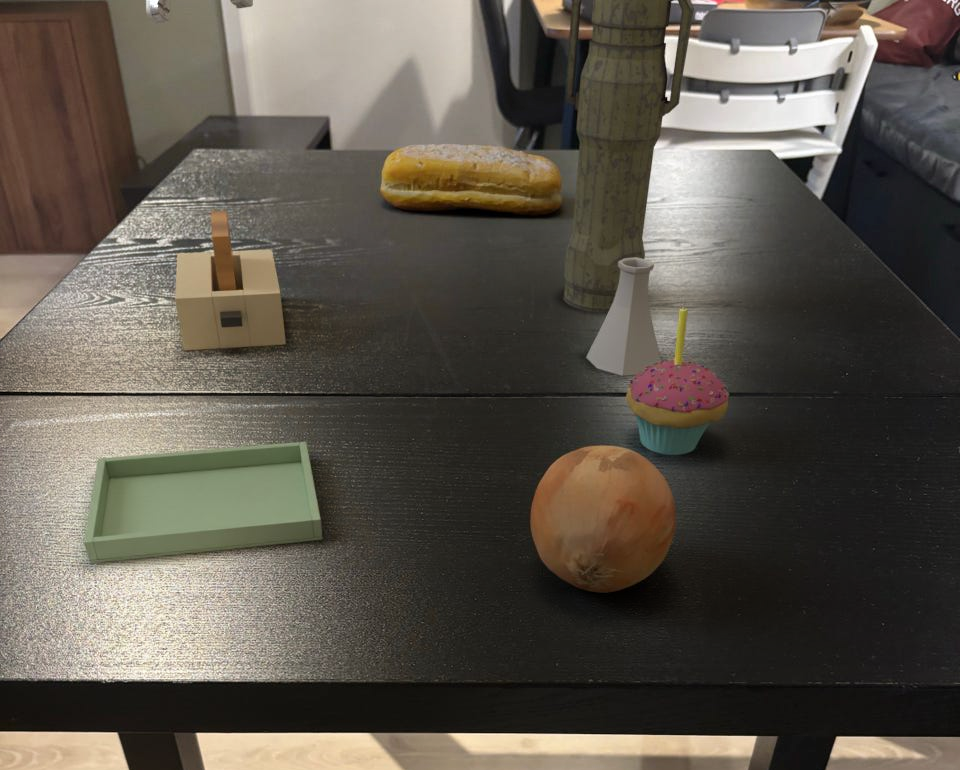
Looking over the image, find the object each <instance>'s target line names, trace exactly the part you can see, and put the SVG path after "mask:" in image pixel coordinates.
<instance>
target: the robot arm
mask: <svg viewBox="0 0 960 770" xmlns="http://www.w3.org/2000/svg"><path fill="white" fill-rule="evenodd" d="M229 1H230V3H231V4H232V5H233V6H235V7H236V9H245V8H250V7H253V5H254V0H229ZM145 11H146V15H147V18H149V19H150V20H151V21H152V22H154V23H155V24H160V23H164V22H170V21H171V14H170V12H171V3H170V2H169V1H168V0H145Z"/></svg>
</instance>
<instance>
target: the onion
mask: <svg viewBox="0 0 960 770" xmlns="http://www.w3.org/2000/svg"><path fill="white" fill-rule="evenodd" d="M676 516H677V515H676V505H675V500H674V495H673V493H672V490H671V488H670V486H669V483H668V481H667V479H665V476H664V475H663V474H662V473H661V472H660V470H659V469H658V468H657V467H656V466H655V465H654V464H653V463H652V462H651V461H650V460H648V459H647V458H646V457H645V456H643V455H641V454H639V453H638V452H636V451H634V450H631V449H629V448H626V447H623V446H622V447H621V446H616V445H589V446H584V447H581V448H578V449H575V450H572V451H570V452H568V453H565V454H562V456H560V457H559V458H557V459H556V460H555V461H554V462H553V463H552V464H550V466H549V467H548V468H547V470H546V471H545V473H544V475H543V476H542V477H541V479H540V480H539V482H538V484H537V487H536V489H535V492H534V496H533V499H532V502H531V507H530V520H529V522H530V531H531V536H532V540H533V543H534V545H535V548H536V550H537V553H538V555H539V558H540V559H541V560H540V561H542V563H543V564H544V565H545V567H546V568H547V569H548V570H549V571H551V572H552V573H553V574H554V575H555V576H557V577H558V578H560V579H561V580H563V581H564V582H566V583H568V584H570V585H571V586H573V587H575V588H577V589H580V590H584V591H588V592H590V593H591V592H592V593H602V594H603V593H604V594H605V593H606V594H607V593H608V594H609V593H614V592H618V591H621V590H624V589H627V588H630V587H632V586H634V585H636V584H638V583H640V582H641V581H643V580H645V579H647V578H648V577H650V575H652V574H653V573H654V572H655V571H656V570H657V569H658V567H660V566H661V565H662V563H663V561H665V559H666V556H667V555H668V553H669V551H670V547H671V544H672V541H673V539H674V535H675V532H676V526H677V519H676V518H677V517H676Z"/></svg>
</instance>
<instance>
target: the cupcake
mask: <svg viewBox="0 0 960 770" xmlns="http://www.w3.org/2000/svg"><path fill="white" fill-rule="evenodd" d="M681 305H682V306H681V308H679V311H678V322H677V330H676V339H675V351H674V359H670V360H665V361H663V360H661V363H659V364H658V363H656V364H655V363H654V364H653V365H652V366H647V367H645V369H643V370H642V371H640V372H639V373H638V374H634V375H633V378H632V379H630V381H629V385H628V389H627V392H626V395H625V402H626V405H628V407H629V409H630V410H631V411H632V413H633V414H634V416H635V419H636V422H637V428H638V433H639V439H640V440H639V441H640V443H641V444H642V446H644V447H645V448H646V449H648V450H649V451H652V452H655V453H658V454H662V455H668V456H669V455H670V456H679V455H685V454H688V453H690V452H693V451H694V450H695V449H696V447H697V446H698V443H699V441H700V439H701V437H702V436H703V434H704V433H705V431H706V430H707V428H708V427H709V425H710V424H711V423H717V422H719V421H720V420H721V419H723V417H724V416H725V415H726V413H727V410H728V407H729V397H730V393H729V392H728V390H727V388H728V386H727V385H725V383H723V382H722V381H721V379H720V376H718V375H717V373H715V372H714V371H713V370H712V371H711V370H710V369H708V368H707V367H705V366H704V365H698V364H696V363H695V362H691V361H683V358H684V357H683V356H684V348H685V339H686V338H685V337H686V330H687V329H686V328H687V319H688V309H686V298H682V304H681Z"/></svg>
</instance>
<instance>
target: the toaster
mask: <svg viewBox="0 0 960 770" xmlns="http://www.w3.org/2000/svg"><path fill="white" fill-rule="evenodd" d="M232 252H233V259H234V267H235V274H236V281H237V289H238V290H231V291H220V289H219V282H218V276H217V269H216V262H215V255H214V251H202V252H184V253H183V252H180V253H179V252H178V253H177V255H176V256H177V257H176V272H175V273H176V274H175V288H174V289H175V290H174V291H175V292H174V302H175V307H176V308H175V309H176V313H177V318H178V324H179V329H180V335H181V341H182V347H183V350H184V352H198V351H212V350H213V351H214V350H229V349H231V350H232V349H244V348H245V349H246V348H261V347H276V346H286V345H287V342H286V341H287V340H286V333H285V324H284V323H285V322H284V314H283V304H282V294H281V289H280V285H279V279H278V274H277V269H276V263H275V257H274V252H273V249H247V250H232Z"/></svg>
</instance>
